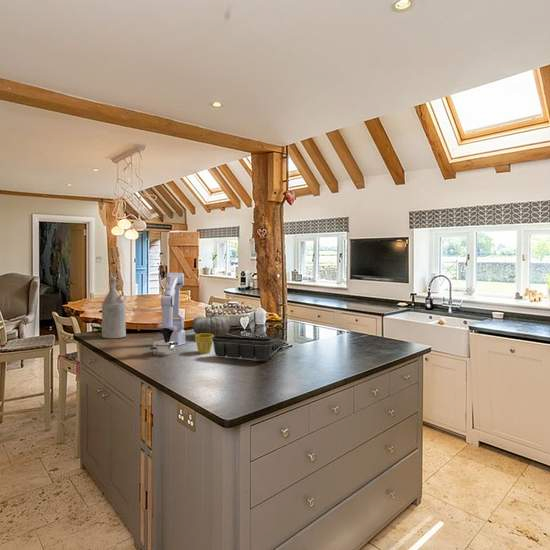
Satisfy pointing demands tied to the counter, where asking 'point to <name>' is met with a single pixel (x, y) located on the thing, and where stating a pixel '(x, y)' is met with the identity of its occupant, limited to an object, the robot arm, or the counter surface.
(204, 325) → the gourd
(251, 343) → the dish rack
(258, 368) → the counter surface
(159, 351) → the cooker pot
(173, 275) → the robot arm
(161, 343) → the cooker lid
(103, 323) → the grey bottle
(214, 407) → the counter surface
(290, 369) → the counter surface
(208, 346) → the plant pot
